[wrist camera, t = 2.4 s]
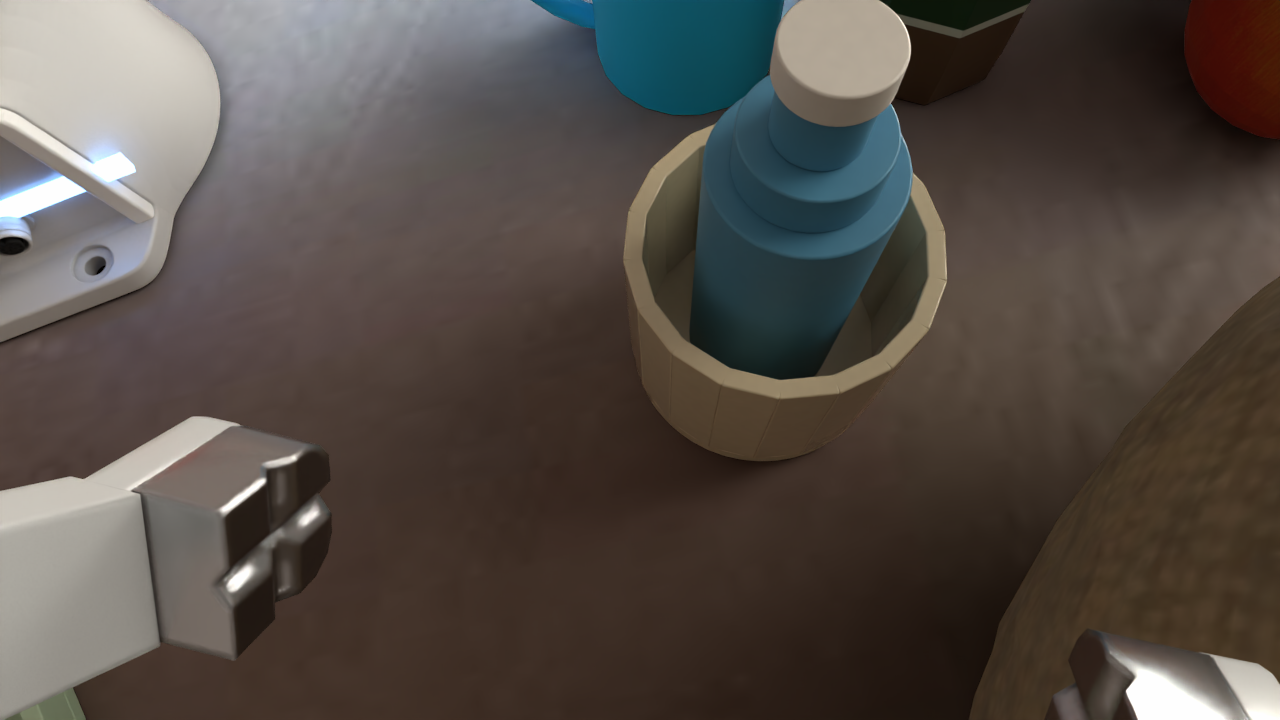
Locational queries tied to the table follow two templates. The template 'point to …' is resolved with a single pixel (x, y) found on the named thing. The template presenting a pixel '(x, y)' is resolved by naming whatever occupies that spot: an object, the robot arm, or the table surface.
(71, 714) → the tray
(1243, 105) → the fruit
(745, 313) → the bottle
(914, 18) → the beer bottle
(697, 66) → the mug
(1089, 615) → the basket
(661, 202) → the bucket
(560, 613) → the table surface
